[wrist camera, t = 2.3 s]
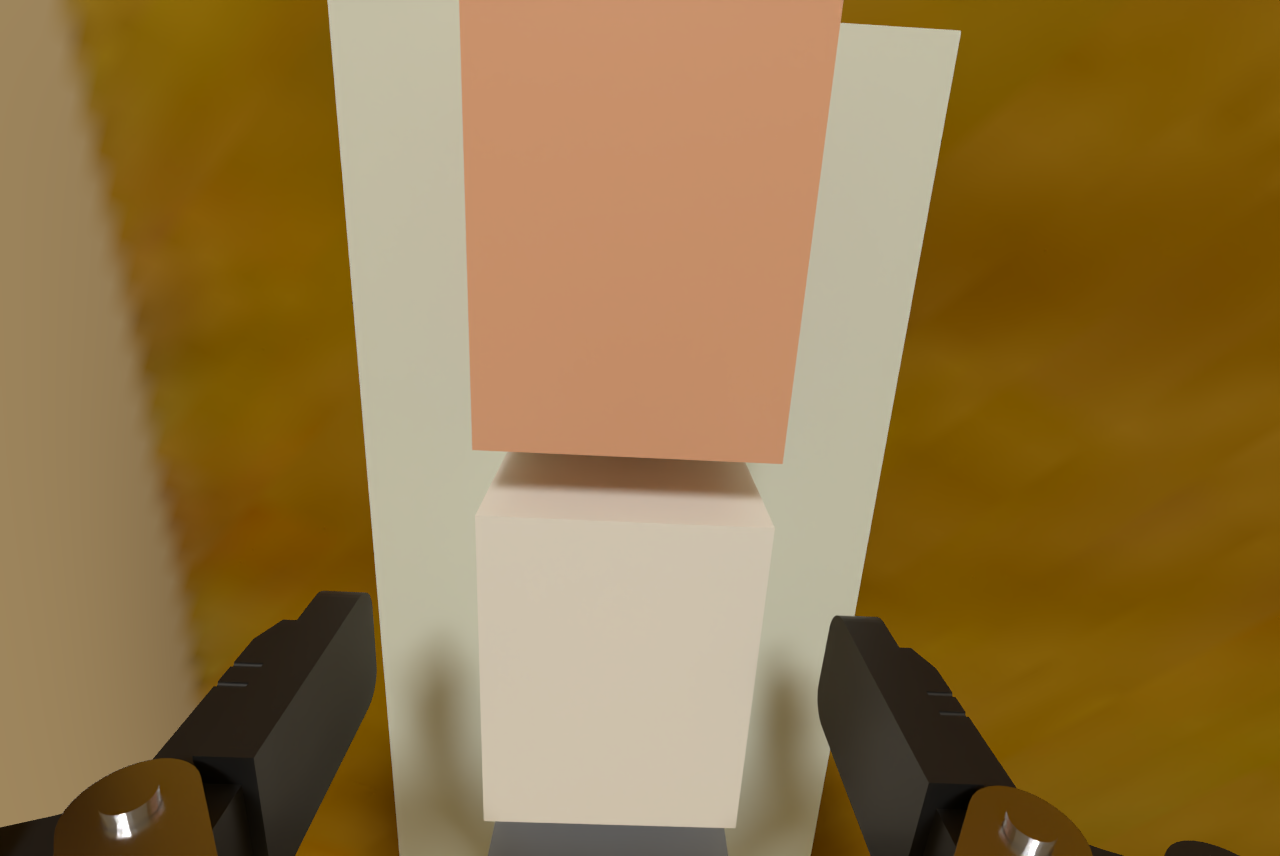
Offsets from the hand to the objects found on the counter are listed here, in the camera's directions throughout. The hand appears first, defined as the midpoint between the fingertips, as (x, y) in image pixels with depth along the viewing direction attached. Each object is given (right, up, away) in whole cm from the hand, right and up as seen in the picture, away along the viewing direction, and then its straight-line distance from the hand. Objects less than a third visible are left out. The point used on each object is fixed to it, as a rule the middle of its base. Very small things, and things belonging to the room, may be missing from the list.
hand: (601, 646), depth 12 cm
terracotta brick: (+1, +8, +2) cm, 8 cm away
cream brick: (0, +1, +5) cm, 5 cm away
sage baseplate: (0, +1, +6) cm, 6 cm away
